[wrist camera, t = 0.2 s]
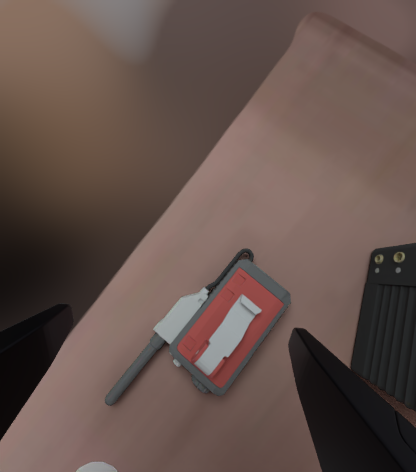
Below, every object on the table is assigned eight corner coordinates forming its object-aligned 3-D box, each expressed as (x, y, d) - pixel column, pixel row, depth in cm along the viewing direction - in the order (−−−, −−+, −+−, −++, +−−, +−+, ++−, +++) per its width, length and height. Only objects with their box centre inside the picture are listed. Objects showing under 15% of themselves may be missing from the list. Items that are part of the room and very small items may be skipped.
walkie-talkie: (229, 236, 25) (105, 387, 22) (234, 228, 20) (80, 416, 18) (292, 287, 24) (171, 451, 21) (312, 291, 19) (161, 497, 17)
